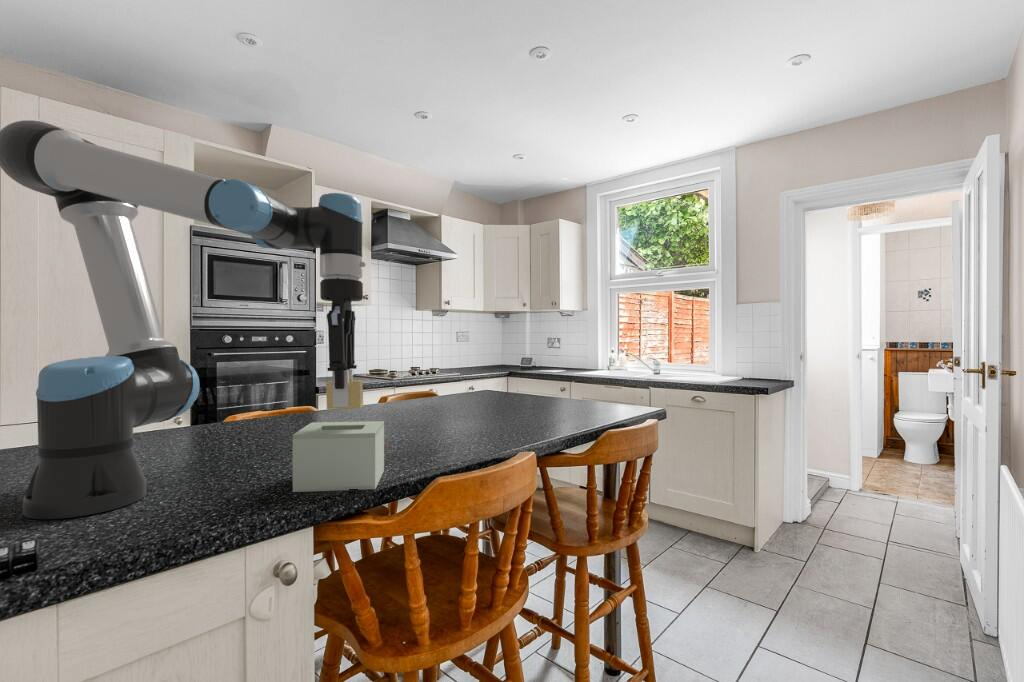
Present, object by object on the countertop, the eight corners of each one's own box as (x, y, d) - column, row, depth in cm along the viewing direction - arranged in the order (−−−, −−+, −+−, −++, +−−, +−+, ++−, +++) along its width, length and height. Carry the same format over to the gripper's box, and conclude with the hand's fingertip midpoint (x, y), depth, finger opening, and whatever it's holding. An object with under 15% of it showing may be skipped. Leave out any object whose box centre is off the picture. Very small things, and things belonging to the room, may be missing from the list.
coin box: (292, 492, 86) (292, 434, 86) (311, 472, 98) (311, 422, 98) (375, 489, 88) (375, 433, 88) (384, 470, 100) (384, 421, 99)
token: (326, 409, 91) (326, 382, 91) (330, 406, 94) (330, 380, 94) (360, 408, 92) (359, 381, 91) (363, 405, 95) (362, 379, 94)
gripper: (354, 274, 85) (355, 411, 85) (369, 284, 101) (370, 398, 101) (308, 274, 84) (310, 412, 84) (331, 283, 100) (332, 399, 100)
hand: (342, 404), depth 93 cm, fingers closed on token, 3 cm apart
